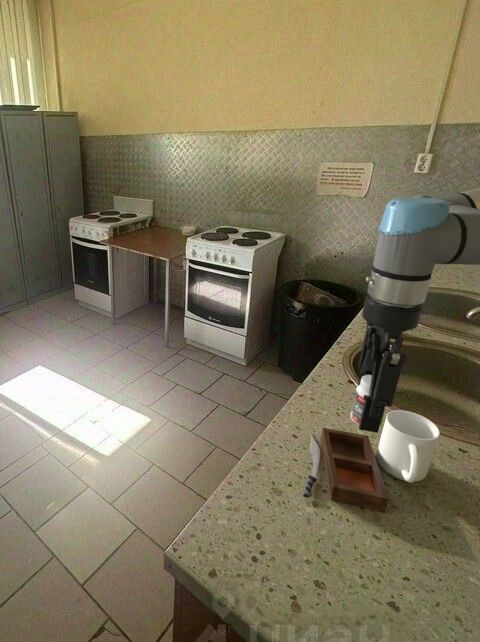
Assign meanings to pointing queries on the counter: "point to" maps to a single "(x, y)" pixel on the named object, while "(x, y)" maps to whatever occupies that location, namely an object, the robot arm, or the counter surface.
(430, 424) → the mug
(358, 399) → the pill bottle
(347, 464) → the wooden divided tray
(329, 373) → the counter surface
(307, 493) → the knife
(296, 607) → the counter surface
